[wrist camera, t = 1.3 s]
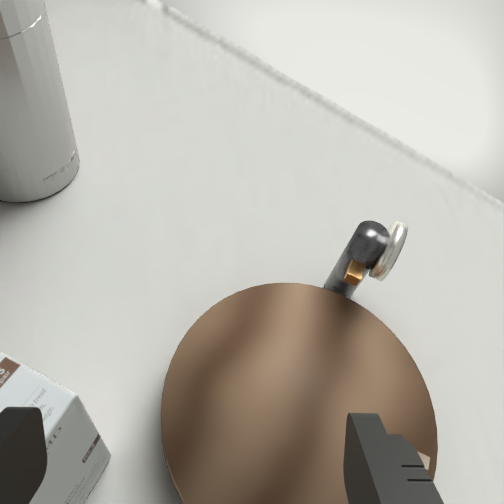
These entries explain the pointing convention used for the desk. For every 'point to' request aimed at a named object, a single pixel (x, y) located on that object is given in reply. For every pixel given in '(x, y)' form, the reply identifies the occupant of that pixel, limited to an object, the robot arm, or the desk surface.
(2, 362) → the skincare box
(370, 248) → the post with glass disc
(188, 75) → the desk surface
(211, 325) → the turntable
